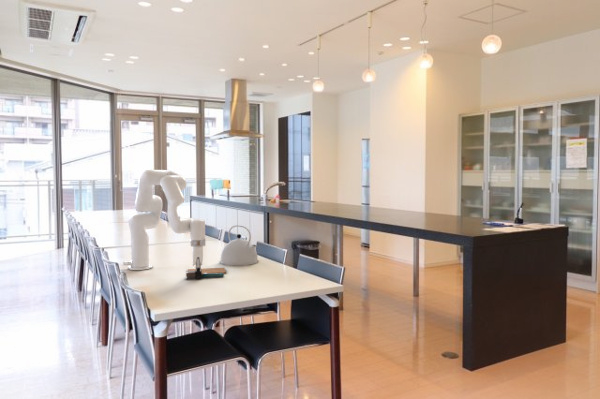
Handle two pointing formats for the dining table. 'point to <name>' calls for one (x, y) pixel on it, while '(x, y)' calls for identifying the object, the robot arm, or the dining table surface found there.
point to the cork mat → (211, 270)
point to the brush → (203, 275)
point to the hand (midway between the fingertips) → (198, 277)
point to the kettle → (239, 251)
